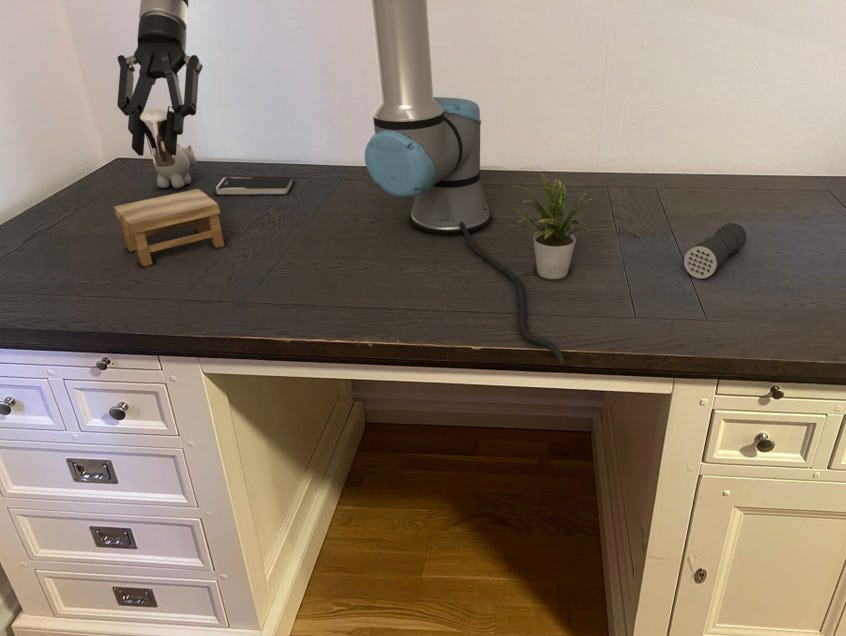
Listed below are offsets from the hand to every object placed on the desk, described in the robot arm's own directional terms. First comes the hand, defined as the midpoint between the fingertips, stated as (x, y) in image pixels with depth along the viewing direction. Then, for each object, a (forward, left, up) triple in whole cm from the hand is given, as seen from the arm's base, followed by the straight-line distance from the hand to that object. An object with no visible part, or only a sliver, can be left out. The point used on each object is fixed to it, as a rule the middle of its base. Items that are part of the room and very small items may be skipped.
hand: (154, 151), depth 118 cm
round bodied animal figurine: (+38, -13, -18) cm, 44 cm away
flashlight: (-61, -72, -18) cm, 97 cm away
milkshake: (+3, -2, -4) cm, 5 cm away
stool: (+3, 0, -18) cm, 18 cm away
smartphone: (+24, -24, -18) cm, 39 cm away
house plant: (-45, -47, -18) cm, 68 cm away
